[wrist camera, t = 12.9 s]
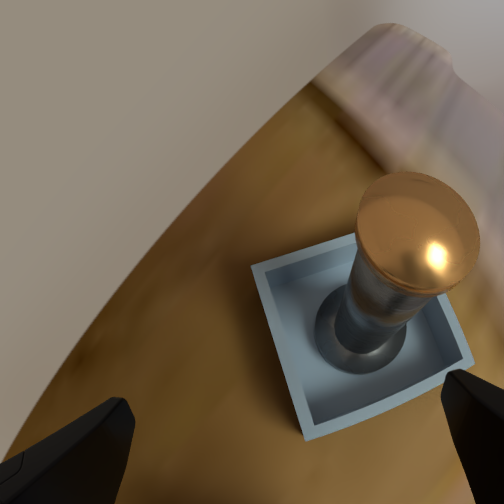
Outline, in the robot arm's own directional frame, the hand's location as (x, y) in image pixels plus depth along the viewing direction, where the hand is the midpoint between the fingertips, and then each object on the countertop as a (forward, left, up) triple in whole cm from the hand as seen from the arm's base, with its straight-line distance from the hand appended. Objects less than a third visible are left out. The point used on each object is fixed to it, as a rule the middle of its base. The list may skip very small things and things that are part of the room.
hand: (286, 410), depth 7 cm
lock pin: (+4, -6, -12) cm, 14 cm away
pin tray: (+4, -6, -13) cm, 14 cm away
